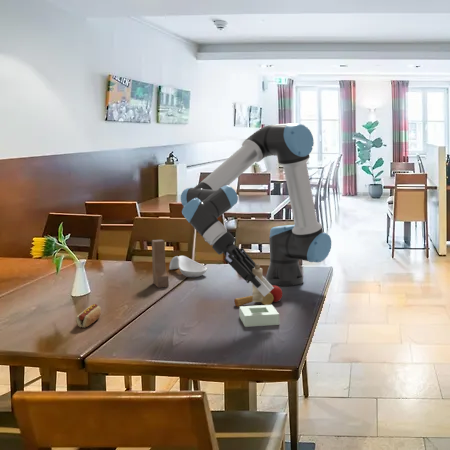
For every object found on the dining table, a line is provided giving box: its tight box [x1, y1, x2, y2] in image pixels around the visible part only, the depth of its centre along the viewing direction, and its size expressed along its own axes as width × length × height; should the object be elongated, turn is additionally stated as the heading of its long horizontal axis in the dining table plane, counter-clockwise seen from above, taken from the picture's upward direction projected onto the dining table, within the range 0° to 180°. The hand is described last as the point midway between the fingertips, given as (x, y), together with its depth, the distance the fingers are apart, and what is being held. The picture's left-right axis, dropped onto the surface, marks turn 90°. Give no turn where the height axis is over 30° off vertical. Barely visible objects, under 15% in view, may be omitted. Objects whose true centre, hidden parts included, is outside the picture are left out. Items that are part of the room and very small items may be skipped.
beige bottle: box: [251, 263, 263, 303], centre depth 198 cm, size 3×3×12 cm
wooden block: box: [151, 239, 170, 289], centre depth 249 cm, size 9×4×18 cm, turn 19°
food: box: [75, 303, 102, 329], centre depth 201 cm, size 14×6×5 cm, turn 172°
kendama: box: [234, 285, 283, 308], centre depth 220 cm, size 8×6×18 cm
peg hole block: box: [238, 304, 280, 328], centre depth 202 cm, size 11×16×4 cm
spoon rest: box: [168, 255, 208, 278], centre depth 270 cm, size 24×12×7 cm, turn 34°
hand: (269, 292), depth 197 cm, fingers closed on beige bottle, 3 cm apart
